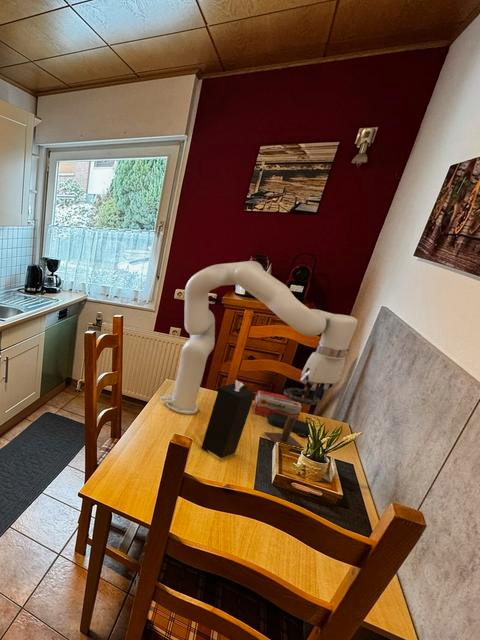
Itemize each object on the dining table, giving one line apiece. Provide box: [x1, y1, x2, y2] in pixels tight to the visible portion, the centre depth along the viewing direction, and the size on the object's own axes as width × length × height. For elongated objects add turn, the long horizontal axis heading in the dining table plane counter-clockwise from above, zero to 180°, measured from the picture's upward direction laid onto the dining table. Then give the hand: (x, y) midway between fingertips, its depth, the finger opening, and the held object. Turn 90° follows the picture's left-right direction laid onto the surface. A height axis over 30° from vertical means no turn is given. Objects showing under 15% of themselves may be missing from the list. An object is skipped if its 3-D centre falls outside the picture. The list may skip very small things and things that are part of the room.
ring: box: [283, 387, 321, 406], centre depth 138 cm, size 10×10×2 cm
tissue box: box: [201, 379, 256, 459], centre depth 133 cm, size 8×8×28 cm
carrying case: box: [267, 413, 309, 438], centre depth 155 cm, size 11×3×15 cm
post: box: [263, 415, 305, 449], centre depth 144 cm, size 9×9×12 cm
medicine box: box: [253, 389, 303, 420], centre depth 164 cm, size 15×8×8 cm, turn 61°
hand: (312, 398), depth 138 cm, fingers closed on ring, 2 cm apart
